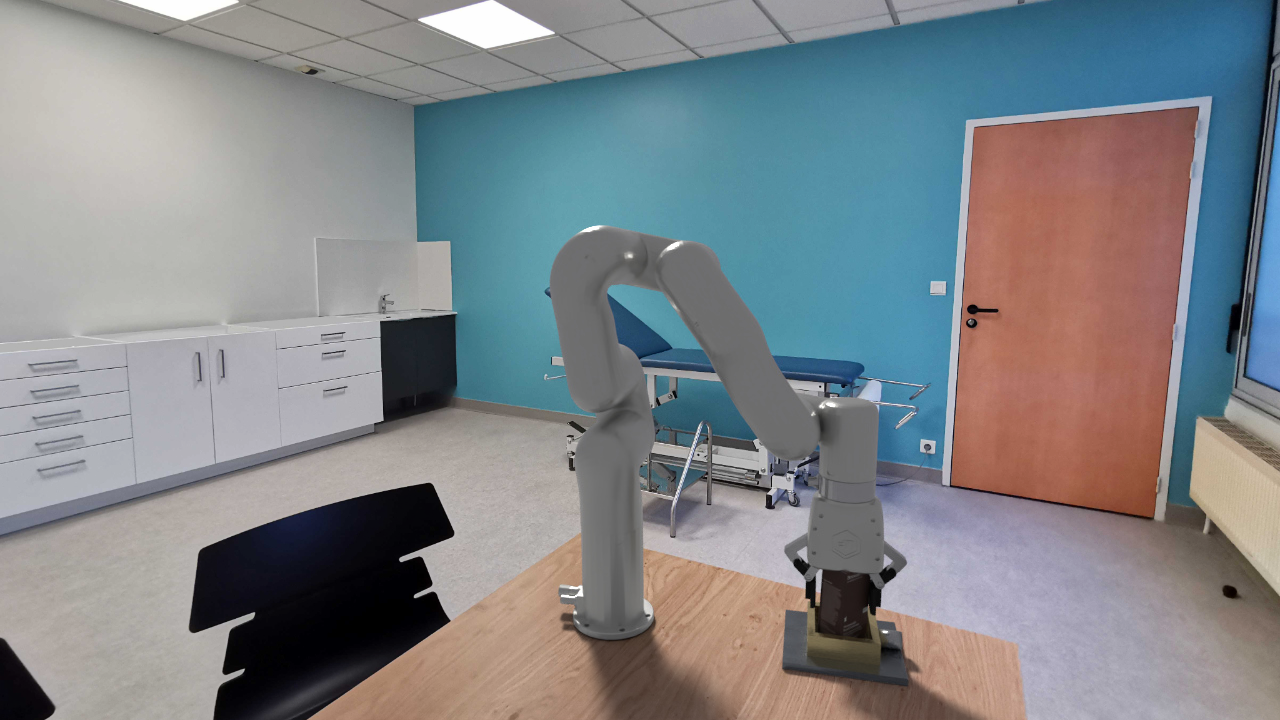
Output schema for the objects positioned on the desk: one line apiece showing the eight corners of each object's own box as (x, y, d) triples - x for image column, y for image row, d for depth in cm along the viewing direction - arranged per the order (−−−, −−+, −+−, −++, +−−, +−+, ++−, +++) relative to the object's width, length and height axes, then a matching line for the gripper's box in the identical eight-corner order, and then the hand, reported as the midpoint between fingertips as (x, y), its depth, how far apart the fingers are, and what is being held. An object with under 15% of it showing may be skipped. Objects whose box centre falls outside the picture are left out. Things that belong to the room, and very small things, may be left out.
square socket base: (782, 668, 89) (782, 641, 88) (785, 615, 102) (786, 591, 102) (907, 686, 85) (909, 657, 84) (894, 628, 98) (895, 603, 98)
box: (841, 655, 90) (846, 573, 88) (816, 640, 94) (819, 560, 92) (869, 641, 93) (873, 561, 92) (843, 627, 97) (847, 550, 95)
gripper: (781, 491, 89) (778, 613, 91) (918, 502, 84) (911, 629, 87) (783, 474, 96) (780, 587, 98) (910, 483, 92) (903, 601, 94)
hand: (842, 606), depth 93 cm, fingers open, 7 cm apart
